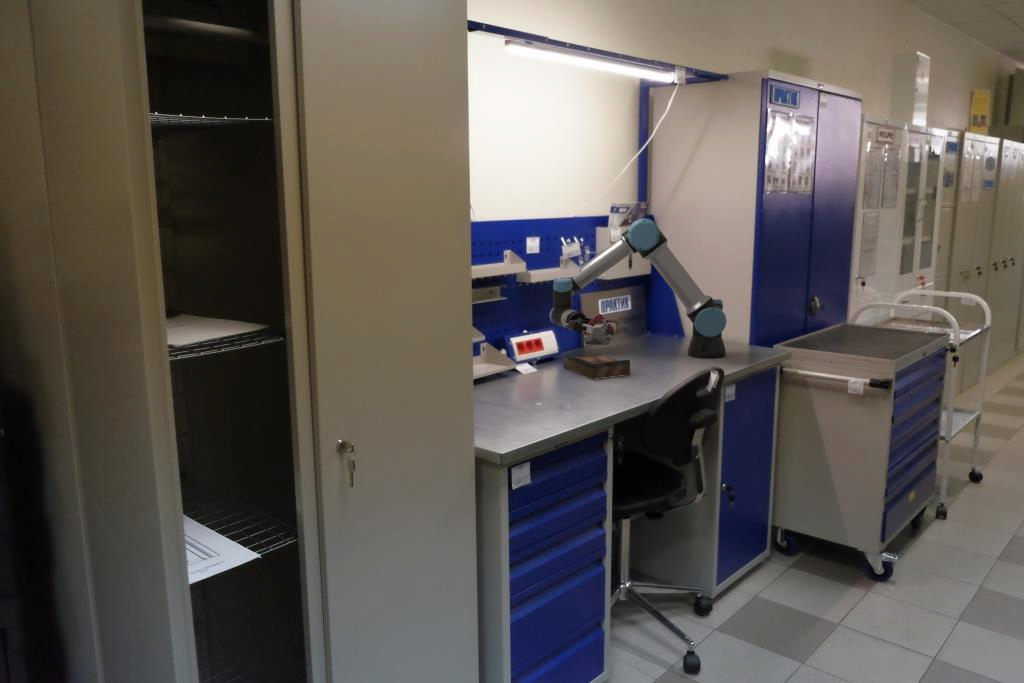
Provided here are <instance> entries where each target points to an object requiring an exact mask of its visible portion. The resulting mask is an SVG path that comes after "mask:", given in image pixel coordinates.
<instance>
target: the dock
mask: <svg viewBox="0 0 1024 683" xmlns="http://www.w3.org/2000/svg"><path fill="white" fill-rule="evenodd" d="M565 368H566V369H565ZM563 369H565V370H567V369H568V370H567V371H570V370H571V372H572V371H573V372H572V373H575V374H577V373H578V375H579V374H581V375H580V376H582V375H583V376H582V377H584V376H586V377H585V378H587V377H588V378H587V379H589V378H591V379H594V380H596V379H595V378H602V377H610V376H617V377H621V376H620V375H625V376H630V375H631V360H630V359H622V360H618V359H616V358H612V357H610V356H608V355H605V354H603V353H602V354H601V353H594V354H586V355H577V356H574V355H572V354H568V355H566V357H563ZM629 374H630V375H629ZM610 378H611V377H610ZM591 379H590V380H591ZM602 379H603V378H602Z"/></svg>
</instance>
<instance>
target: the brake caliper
mask: <svg viewBox="0 0 1024 683" xmlns="http://www.w3.org/2000/svg"><path fill="white" fill-rule="evenodd" d="M591 319H592V320H591V321H590V322H589V323H588V324H587V325H590V326H594V325H595V326H594V327H593V334H590V333H587V332H584V331H583V333H584V334H583V335H584V336H583V339H584V341H585V342H584V343H583V346H585V347H587V345H590V346H592V345H593V346H594V345H595V346H596V345H601V346H602V345H603V346H608V345H609V344H610V342H611V341H612V339H613V338H614V333H615V332H614V328H613V327H612V326H611V325H610V324H609V323H608V321H607V320H608V319H606V318H605V317H604V316H603V315H602V314H601V313H597V314H596V315H594V316H593V318H591ZM594 320H596V321H597V322H594ZM602 320H603V323H602ZM591 323H592V325H591Z"/></svg>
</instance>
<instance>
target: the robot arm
mask: <svg viewBox="0 0 1024 683" xmlns="http://www.w3.org/2000/svg"><path fill="white" fill-rule="evenodd" d="M637 253H638V254H639V255H640V256H641V257H642V259H643V260H648V261H649V262H650V263H651V264H652V266H653V267H654V268H655V269H656V271H657V272H658V273H659V275H660V276H661V277H662V278H663V280H664V281H665V283H666V284H667V285H668V286H669V288H670V289H671V290H672V292H673V293H674V294H675V296H676V297H677V298H678V299H679V301H680V302H681V303H682V305H683V306H684V307H685V309H686V310H685V314H686V316H687V318H688V319H689V320H690V322H691V324H692V334H691V338H690V341H689V345H688V347H687V355H688V356H690V357H693V356H694V358H700V357H703V358H704V359H711V358H710V357H718V358H721V357H720V356H723V357H725V356H726V353H727V350H726V347H725V343H724V341H723V337H722V336H723V335H722V334H723V331H724V330H725V328H726V325H727V316H726V314H725V312H723V308H724V304H723V299H720V298H719V299H714V298H712V296H711V295H706V294H704V292H703V291H702V290H701V288H700V287H699V285H698V284H697V283H696V282H695V280H694V279H693V278H692V277H691V276H690V273H688V271H687V270H686V269H685V267H684V266H683V265H682V263H681V262H680V261H679V259H678V258H677V257H676V256H675V254H674V253H673V252H672V250H671V249H670V248H669V247H668V238H667V237H666V236H665V235H664V234H663V232H662V230H660V228H659V227H658V224H657V223H656V222H655V221H654V220H653V219H650V218H646V217H642V218H639V219H636V220H635V221H633V222H632V223H631V224H630V226H629V228H627V230H625V231H624V232H623V233H621V234H620V238H618V239H617V240H615V242H613V243H612V244H611V245H609V246H608V247H606V248H605V249H604V250H602V251H601V252H600V253H598V254H597V255H596V256H595V257H593V258H592V259H590V260H589V261H587V262H586V263H585V264H583V265H582V266H581V267H579V268H580V269H581V272H580V275H579V276H575V277H573V278H567V277H564V278H565V279H557V280H554V279H553V286H552V289H553V291H552V293H553V305H552V306H553V307H552V309H551V310H550V312H549V314H548V316H549V317H548V318H549V319H550V322H551V323H552V324H554V325H556V326H558V327H563V328H565V329H569V331H573V332H578V333H580V334H582V332H583V333H584V332H587V333H590V335H591V334H593V327H594V326H595V325H594V326H590V325H587V324H588V323H589V322H590V321H591V320H592V319H593V318H592V317H591V318H590V317H587V316H586V314H585V313H583V312H581V311H577V310H574V309H573V296H574V295H576V294H577V293H578V292H580V291H582V290H583V288H585V287H586V286H588V285H589V284H591V283H592V282H593V281H595V280H596V279H598V278H600V276H602V275H603V274H604V273H606V272H607V271H609V270H610V269H611V268H613V267H615V266H616V265H618V263H620V262H621V261H623V260H624V259H625V258H627V257H628V256H630V255H631V254H637ZM606 320H607V321H608V323H609V324H610V325H611V326H612V327H613V328H614V333H615V332H616V331H617V328H616V327H617V324H616V323H613V321H612V320H609V319H606ZM594 322H597V321H596V320H594ZM602 323H603V320H602ZM591 325H592V323H591ZM724 355H725V356H724ZM703 358H702V359H703Z"/></svg>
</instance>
